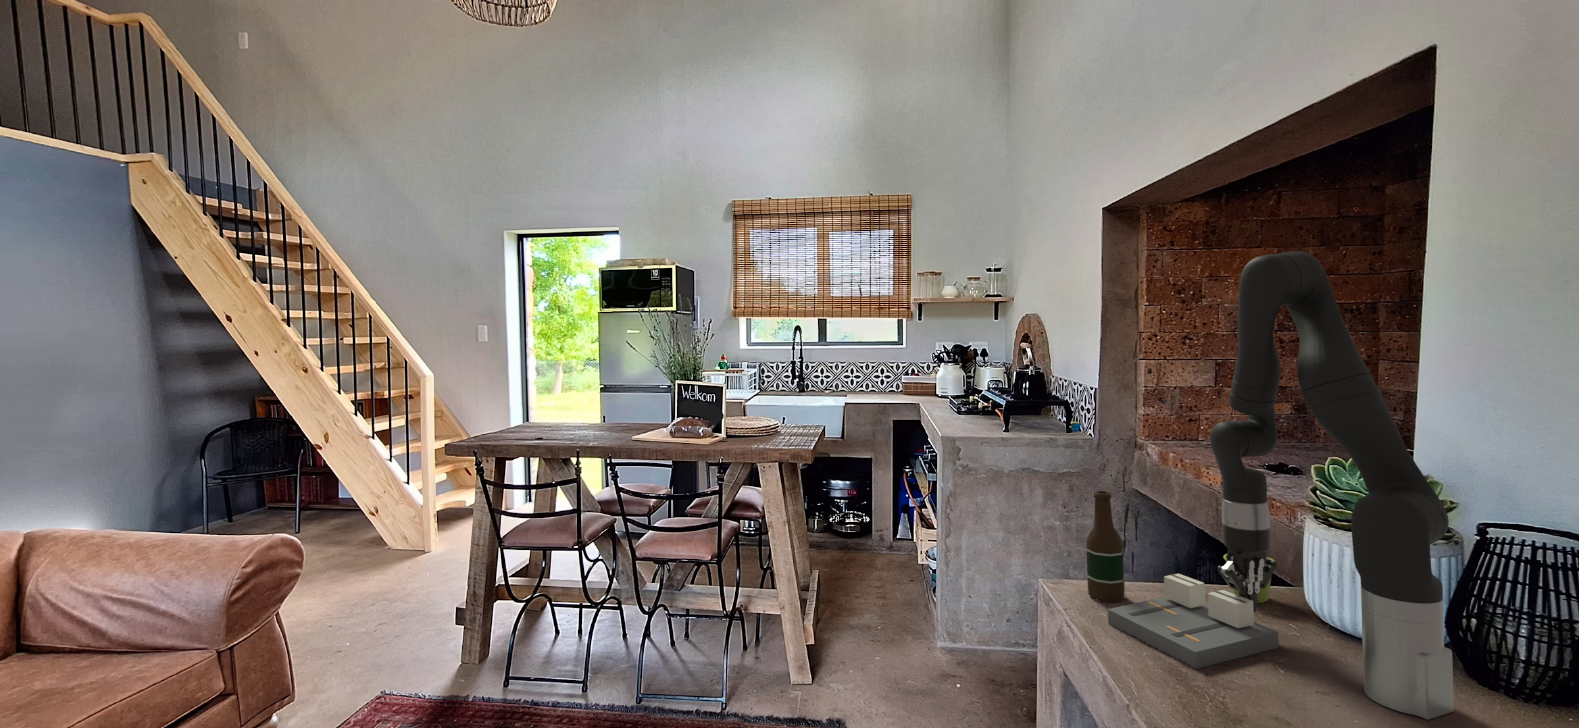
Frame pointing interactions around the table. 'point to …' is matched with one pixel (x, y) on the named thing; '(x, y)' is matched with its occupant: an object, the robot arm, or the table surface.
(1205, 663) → the fader board
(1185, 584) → the block
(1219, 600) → the block
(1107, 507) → the beer bottle
